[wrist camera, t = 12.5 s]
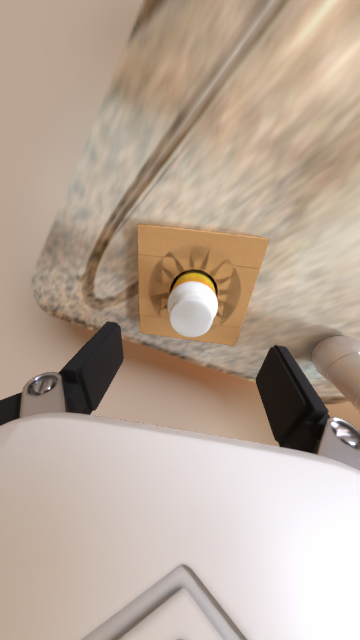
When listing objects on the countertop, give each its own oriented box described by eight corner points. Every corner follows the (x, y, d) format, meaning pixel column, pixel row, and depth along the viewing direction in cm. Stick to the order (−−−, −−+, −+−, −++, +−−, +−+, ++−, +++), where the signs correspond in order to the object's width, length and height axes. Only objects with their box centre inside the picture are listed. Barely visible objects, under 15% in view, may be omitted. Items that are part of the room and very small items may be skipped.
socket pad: (144, 224, 21) (136, 223, 18) (261, 237, 20) (270, 239, 18) (145, 322, 28) (139, 332, 25) (231, 334, 27) (235, 346, 24)
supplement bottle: (215, 301, 25) (223, 341, 16) (179, 307, 26) (169, 346, 17) (211, 263, 22) (217, 287, 14) (171, 271, 23) (155, 297, 15)
